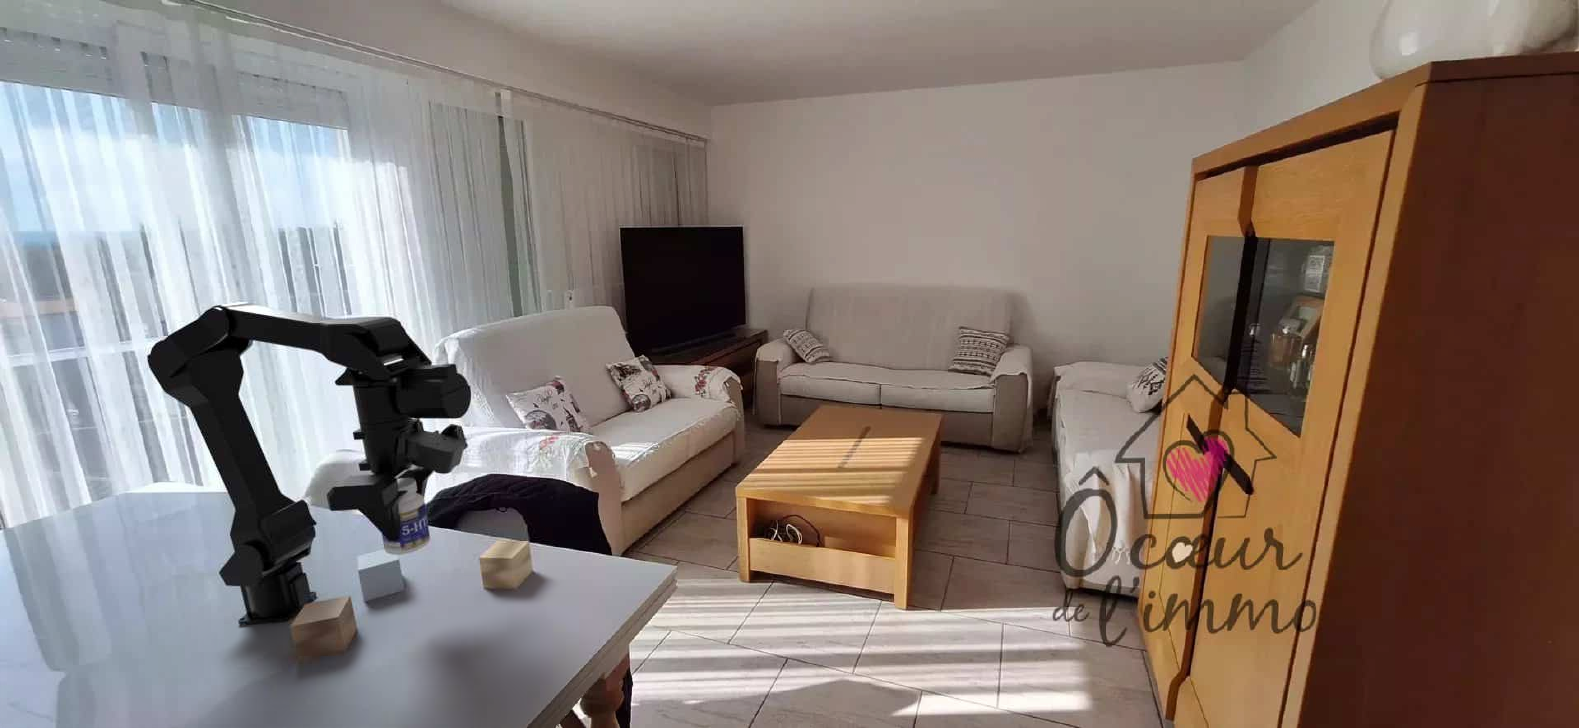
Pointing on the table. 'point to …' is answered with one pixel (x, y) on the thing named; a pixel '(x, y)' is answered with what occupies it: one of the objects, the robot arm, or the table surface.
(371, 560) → the slate block
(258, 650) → the table surface
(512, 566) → the oak block
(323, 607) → the walnut block
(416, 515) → the pill bottle
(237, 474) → the robot arm
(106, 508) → the table surface
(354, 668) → the table surface
